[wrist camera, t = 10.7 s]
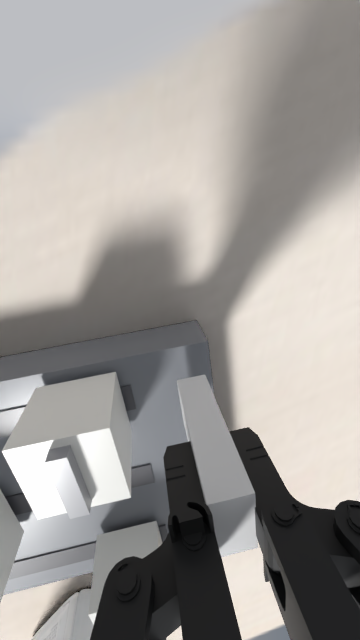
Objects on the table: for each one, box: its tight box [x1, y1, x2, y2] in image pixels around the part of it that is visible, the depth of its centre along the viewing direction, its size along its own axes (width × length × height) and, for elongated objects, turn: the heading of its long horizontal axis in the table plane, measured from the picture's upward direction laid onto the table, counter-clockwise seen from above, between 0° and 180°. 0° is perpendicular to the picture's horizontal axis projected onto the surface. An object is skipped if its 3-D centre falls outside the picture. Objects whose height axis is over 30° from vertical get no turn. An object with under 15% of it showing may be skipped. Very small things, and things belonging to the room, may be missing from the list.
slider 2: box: [88, 521, 162, 625], centre depth 18 cm, size 4×4×5 cm
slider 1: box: [2, 372, 132, 520], centre depth 13 cm, size 4×4×5 cm
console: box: [0, 320, 214, 595], centre depth 19 cm, size 22×17×3 cm
